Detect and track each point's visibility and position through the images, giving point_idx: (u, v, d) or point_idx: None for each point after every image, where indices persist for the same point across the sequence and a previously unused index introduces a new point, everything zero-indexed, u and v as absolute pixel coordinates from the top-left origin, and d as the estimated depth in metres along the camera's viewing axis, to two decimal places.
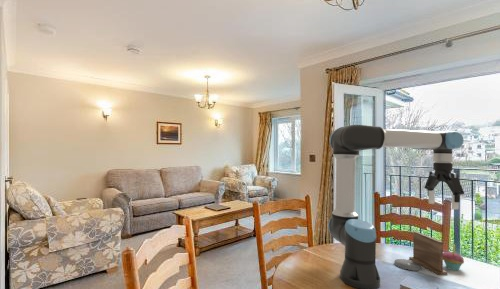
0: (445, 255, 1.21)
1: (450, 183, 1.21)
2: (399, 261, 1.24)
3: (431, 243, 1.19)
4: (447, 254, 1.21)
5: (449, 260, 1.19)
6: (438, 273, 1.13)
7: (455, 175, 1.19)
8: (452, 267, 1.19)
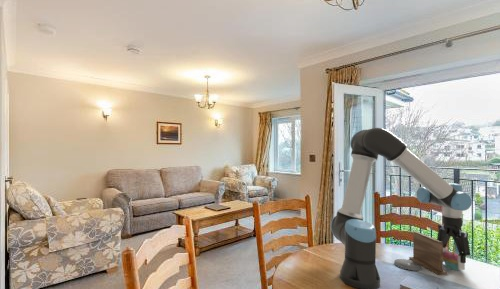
0: (445, 255, 1.21)
1: (458, 241, 1.18)
2: (399, 261, 1.24)
3: (431, 243, 1.19)
4: (447, 254, 1.21)
5: (449, 260, 1.19)
6: (438, 273, 1.13)
7: (465, 234, 1.15)
8: (452, 267, 1.19)
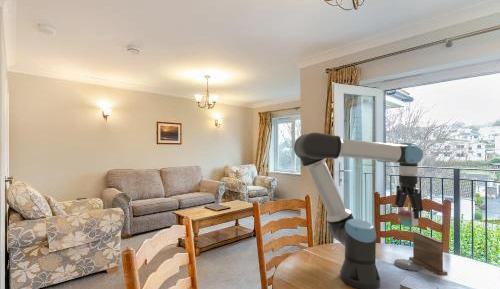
0: (401, 213, 1.23)
1: (413, 198, 1.20)
2: (399, 261, 1.24)
3: (431, 243, 1.19)
4: (403, 212, 1.23)
5: (404, 217, 1.21)
6: (438, 273, 1.13)
7: (418, 191, 1.17)
8: (407, 224, 1.21)
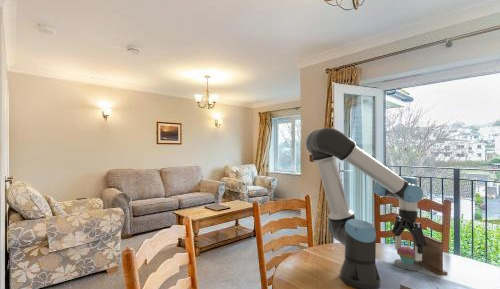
0: (400, 250, 1.22)
1: (414, 232, 1.18)
2: (399, 261, 1.24)
3: (431, 243, 1.19)
4: (402, 249, 1.22)
5: (403, 255, 1.20)
6: (438, 273, 1.13)
7: (418, 225, 1.16)
8: (406, 262, 1.21)
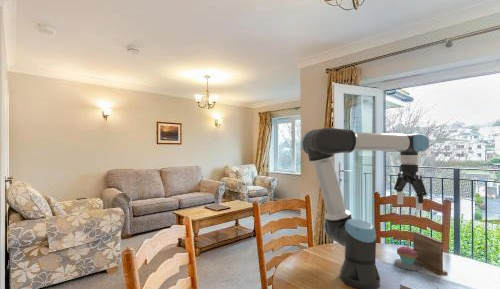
0: (400, 250, 1.23)
1: (415, 184, 1.24)
2: (399, 261, 1.24)
3: (431, 243, 1.19)
4: (402, 249, 1.22)
5: (403, 255, 1.20)
6: (438, 273, 1.13)
7: (419, 176, 1.22)
8: (406, 261, 1.21)
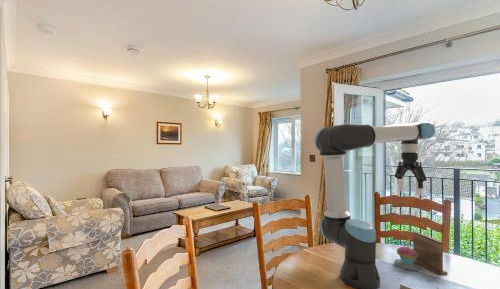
0: (400, 250, 1.23)
1: (415, 171, 1.31)
2: (399, 261, 1.24)
3: (431, 243, 1.19)
4: (402, 249, 1.22)
5: (403, 255, 1.20)
6: (438, 273, 1.13)
7: (419, 163, 1.29)
8: (406, 261, 1.21)
